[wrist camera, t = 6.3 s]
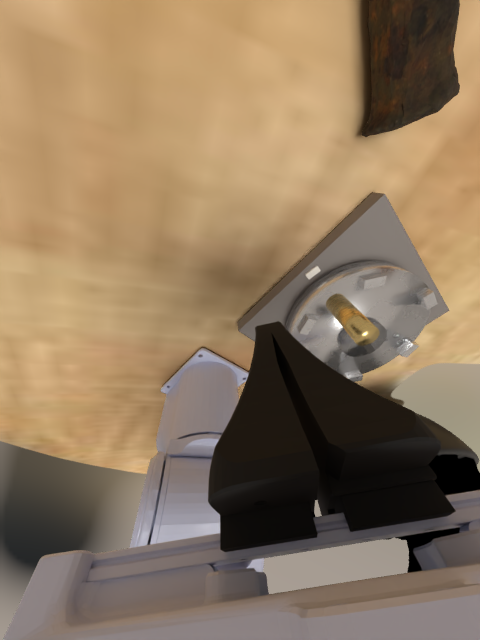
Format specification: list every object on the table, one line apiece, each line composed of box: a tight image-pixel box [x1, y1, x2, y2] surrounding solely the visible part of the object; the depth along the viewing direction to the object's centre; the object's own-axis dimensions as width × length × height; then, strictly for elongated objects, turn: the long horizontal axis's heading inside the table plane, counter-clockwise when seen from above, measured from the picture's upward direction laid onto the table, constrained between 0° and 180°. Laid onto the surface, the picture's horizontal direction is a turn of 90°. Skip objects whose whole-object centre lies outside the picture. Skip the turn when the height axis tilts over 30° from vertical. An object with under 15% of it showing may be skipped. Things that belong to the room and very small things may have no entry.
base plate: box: [237, 192, 449, 341], centre depth 22 cm, size 16×16×2 cm
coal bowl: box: [387, 413, 480, 573], centre depth 29 cm, size 20×20×19 cm
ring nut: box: [286, 260, 437, 382], centre depth 19 cm, size 13×13×6 cm
